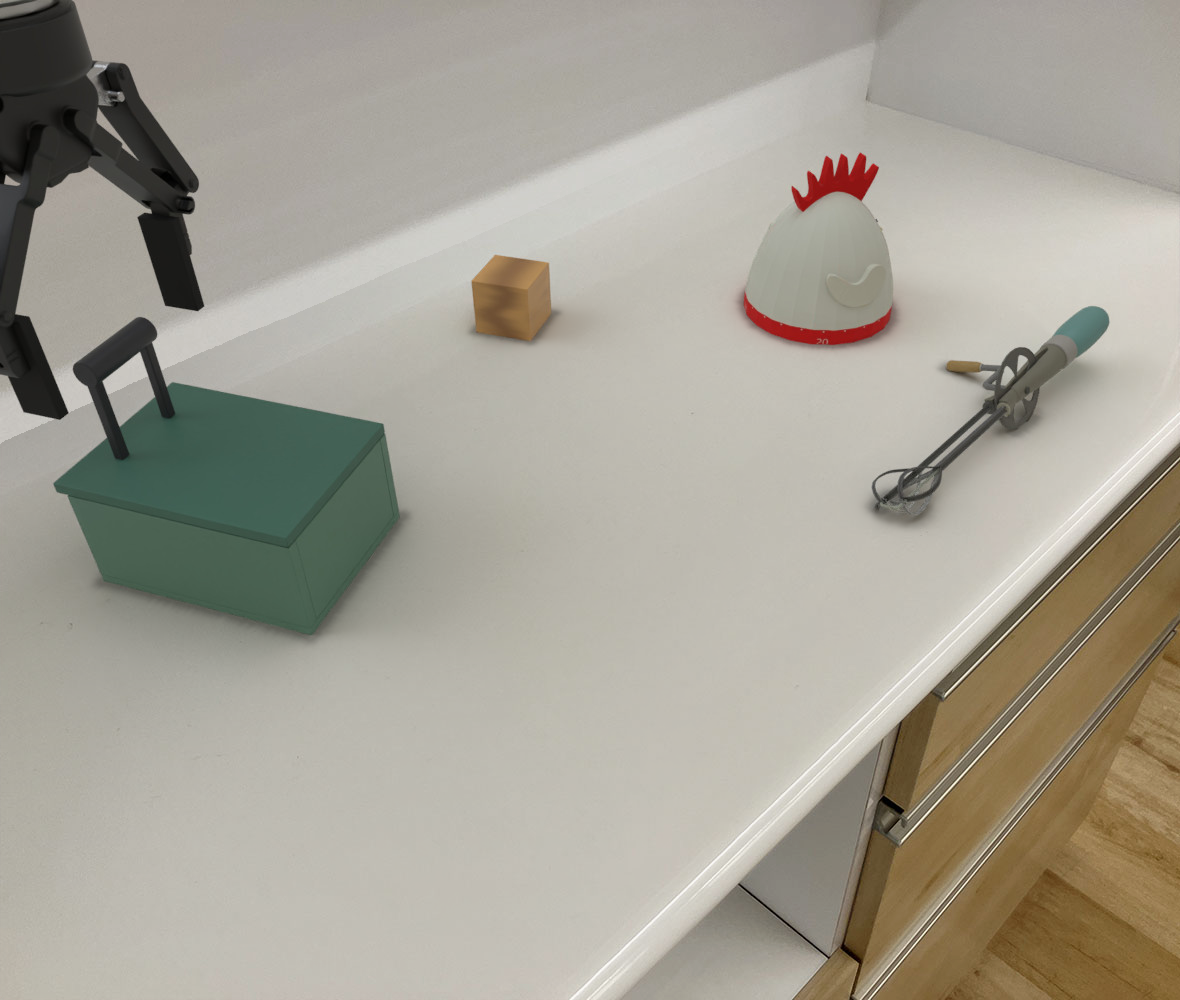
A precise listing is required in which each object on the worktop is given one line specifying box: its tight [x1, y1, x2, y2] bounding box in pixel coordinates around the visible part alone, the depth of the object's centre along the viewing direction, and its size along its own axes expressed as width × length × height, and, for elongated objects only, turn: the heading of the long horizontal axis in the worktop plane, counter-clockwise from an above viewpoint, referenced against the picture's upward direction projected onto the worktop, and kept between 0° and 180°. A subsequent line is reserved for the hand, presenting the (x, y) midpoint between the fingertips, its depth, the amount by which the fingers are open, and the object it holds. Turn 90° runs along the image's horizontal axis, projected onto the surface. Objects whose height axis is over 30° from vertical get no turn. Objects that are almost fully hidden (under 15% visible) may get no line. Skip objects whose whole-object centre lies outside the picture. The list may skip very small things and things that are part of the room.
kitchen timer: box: [743, 152, 894, 346], centre depth 96 cm, size 14×14×15 cm
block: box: [470, 254, 552, 342], centre depth 98 cm, size 6×6×6 cm
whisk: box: [871, 305, 1110, 516], centre depth 85 cm, size 11×32×7 cm, turn 132°
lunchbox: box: [66, 432, 401, 636], centre depth 73 cm, size 17×13×8 cm
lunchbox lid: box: [52, 316, 386, 547], centre depth 68 cm, size 17×13×8 cm
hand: (120, 356), depth 67 cm, fingers open, 13 cm apart
